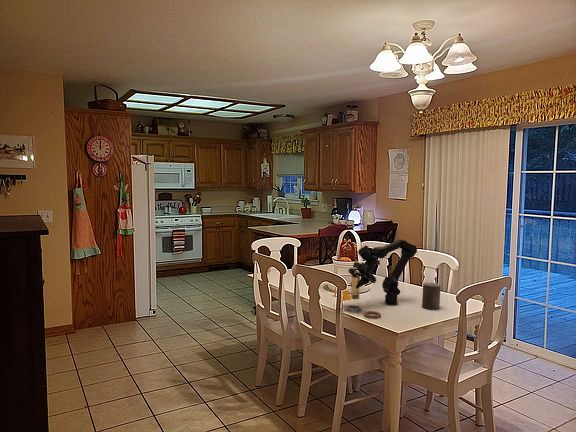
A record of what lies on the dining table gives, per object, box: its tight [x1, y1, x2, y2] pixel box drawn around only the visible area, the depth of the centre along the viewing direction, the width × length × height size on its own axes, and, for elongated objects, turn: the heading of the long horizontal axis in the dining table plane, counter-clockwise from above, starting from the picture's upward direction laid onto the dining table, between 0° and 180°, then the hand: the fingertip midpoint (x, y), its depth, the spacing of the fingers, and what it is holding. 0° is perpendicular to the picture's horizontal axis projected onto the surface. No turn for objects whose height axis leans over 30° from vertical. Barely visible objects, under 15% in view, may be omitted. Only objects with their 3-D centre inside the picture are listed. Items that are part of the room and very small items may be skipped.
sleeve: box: [350, 276, 361, 300], centre depth 242 cm, size 4×4×12 cm
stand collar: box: [363, 310, 382, 320], centre depth 233 cm, size 9×9×1 cm
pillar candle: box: [421, 282, 441, 311], centre depth 250 cm, size 10×10×15 cm
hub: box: [344, 304, 364, 313], centre depth 244 cm, size 10×10×1 cm
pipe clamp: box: [334, 286, 352, 302], centre depth 269 cm, size 12×4×6 cm, turn 24°
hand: (353, 287), depth 242 cm, fingers closed on sleeve, 4 cm apart
